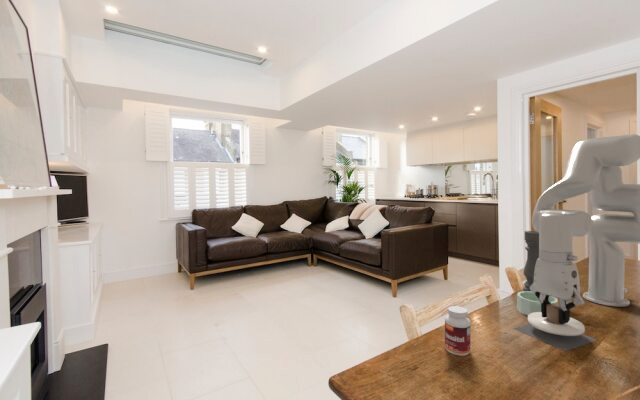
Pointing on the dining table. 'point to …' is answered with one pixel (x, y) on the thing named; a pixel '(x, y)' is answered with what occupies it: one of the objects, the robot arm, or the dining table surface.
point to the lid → (555, 322)
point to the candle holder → (531, 257)
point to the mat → (556, 338)
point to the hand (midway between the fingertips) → (554, 318)
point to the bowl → (530, 302)
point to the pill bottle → (457, 331)
